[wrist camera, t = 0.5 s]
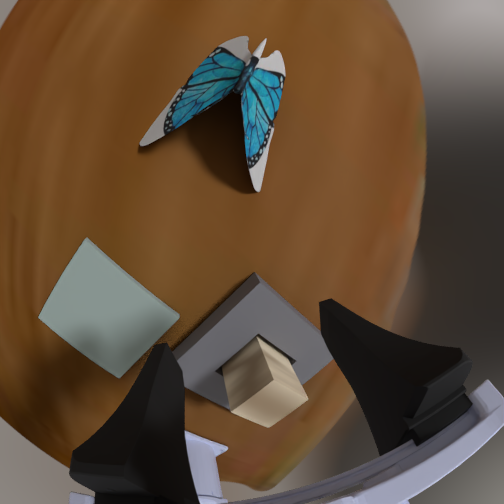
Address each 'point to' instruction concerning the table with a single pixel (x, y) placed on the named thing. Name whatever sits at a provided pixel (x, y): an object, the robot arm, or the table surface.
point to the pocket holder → (248, 338)
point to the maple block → (262, 383)
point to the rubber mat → (105, 311)
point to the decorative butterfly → (221, 83)
